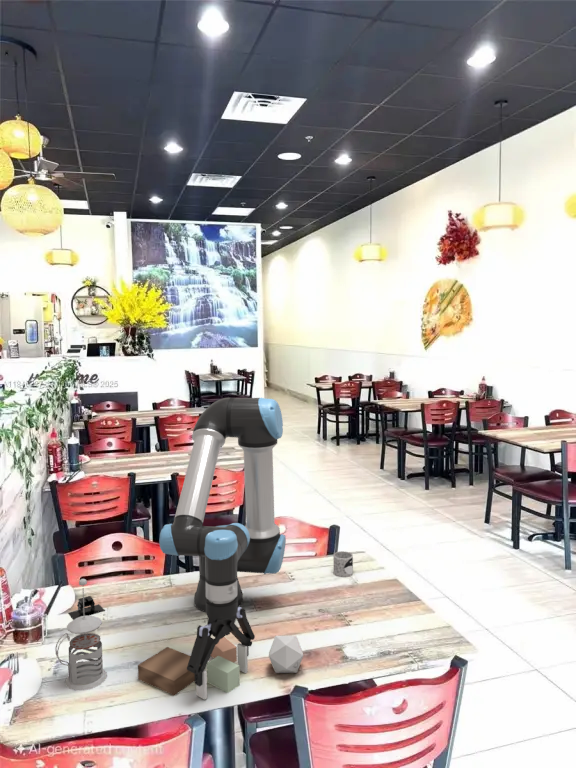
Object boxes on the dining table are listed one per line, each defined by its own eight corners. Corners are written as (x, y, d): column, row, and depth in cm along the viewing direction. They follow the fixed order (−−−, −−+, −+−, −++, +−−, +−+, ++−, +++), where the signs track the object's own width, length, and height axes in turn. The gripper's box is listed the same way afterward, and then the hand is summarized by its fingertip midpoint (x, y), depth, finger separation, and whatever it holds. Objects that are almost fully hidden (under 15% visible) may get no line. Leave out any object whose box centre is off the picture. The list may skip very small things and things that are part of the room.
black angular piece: (68, 624, 174) (68, 609, 173) (61, 614, 180) (61, 600, 179) (110, 612, 181) (110, 597, 181) (102, 603, 187) (102, 589, 186)
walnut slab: (138, 680, 145) (137, 665, 144) (167, 661, 153) (167, 646, 153) (174, 697, 138) (173, 680, 138) (203, 676, 147) (202, 660, 146)
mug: (347, 578, 203) (347, 559, 202) (330, 574, 206) (330, 556, 206) (359, 568, 212) (359, 550, 211) (342, 565, 215) (342, 547, 214)
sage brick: (207, 682, 143) (206, 662, 143) (218, 675, 147) (218, 655, 146) (227, 693, 139) (227, 673, 139) (239, 685, 142) (239, 665, 142)
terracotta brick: (209, 655, 156) (209, 640, 155) (223, 650, 158) (222, 635, 158) (223, 667, 150) (222, 651, 150) (236, 661, 152) (236, 646, 152)
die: (291, 687, 142) (312, 647, 145) (259, 665, 144) (280, 627, 146) (290, 679, 151) (310, 643, 153) (260, 659, 152) (280, 623, 154)
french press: (112, 681, 144) (109, 581, 142) (62, 698, 138) (58, 593, 135) (101, 663, 152) (97, 567, 150) (53, 677, 146) (49, 578, 144)
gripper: (192, 621, 129) (194, 715, 131) (268, 584, 148) (268, 666, 150) (170, 611, 134) (171, 702, 135) (246, 576, 153) (246, 656, 155)
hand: (222, 683), depth 143 cm, fingers open, 13 cm apart
